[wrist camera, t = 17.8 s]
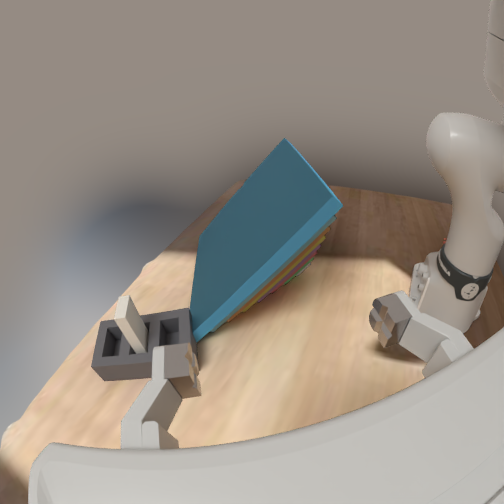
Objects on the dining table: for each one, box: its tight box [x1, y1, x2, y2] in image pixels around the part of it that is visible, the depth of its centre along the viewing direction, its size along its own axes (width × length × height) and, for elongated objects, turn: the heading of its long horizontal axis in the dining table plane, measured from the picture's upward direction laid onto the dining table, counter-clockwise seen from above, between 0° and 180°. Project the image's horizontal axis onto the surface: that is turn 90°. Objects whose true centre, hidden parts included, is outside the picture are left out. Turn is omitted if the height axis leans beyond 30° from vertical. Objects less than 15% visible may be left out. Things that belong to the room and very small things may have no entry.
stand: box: [91, 308, 199, 381], centre depth 46 cm, size 11×19×5 cm, turn 101°
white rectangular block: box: [114, 295, 149, 354], centre depth 43 cm, size 5×2×12 cm, turn 11°
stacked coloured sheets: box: [190, 138, 343, 342], centre depth 59 cm, size 35×18×35 cm
